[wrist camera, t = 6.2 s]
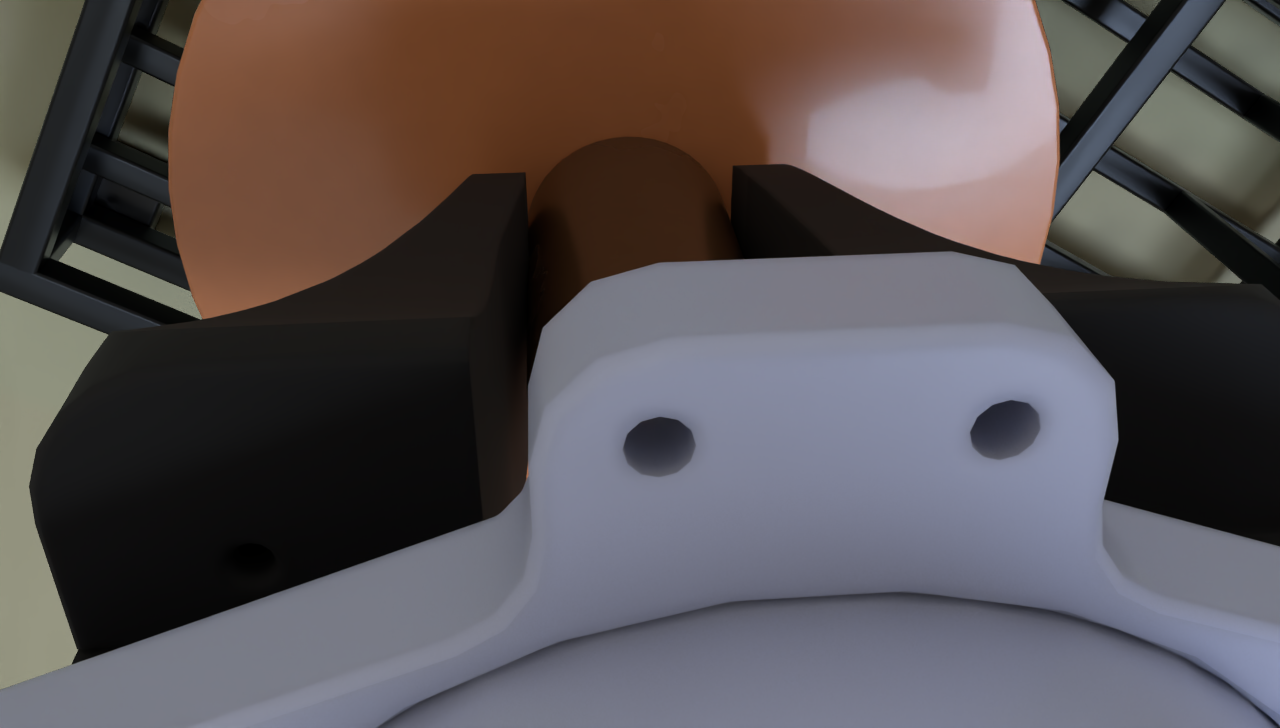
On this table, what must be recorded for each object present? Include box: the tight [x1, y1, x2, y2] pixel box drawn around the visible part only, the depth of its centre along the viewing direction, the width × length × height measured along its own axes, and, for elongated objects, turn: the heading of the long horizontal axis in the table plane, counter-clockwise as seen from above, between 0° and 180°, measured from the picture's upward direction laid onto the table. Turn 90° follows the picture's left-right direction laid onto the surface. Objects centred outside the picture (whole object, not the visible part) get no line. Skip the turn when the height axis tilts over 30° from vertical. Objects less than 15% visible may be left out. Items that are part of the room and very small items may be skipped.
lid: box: [168, 0, 1060, 480], centre depth 13 cm, size 11×11×5 cm
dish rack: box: [0, 0, 1280, 335], centre depth 19 cm, size 21×14×6 cm, turn 60°
